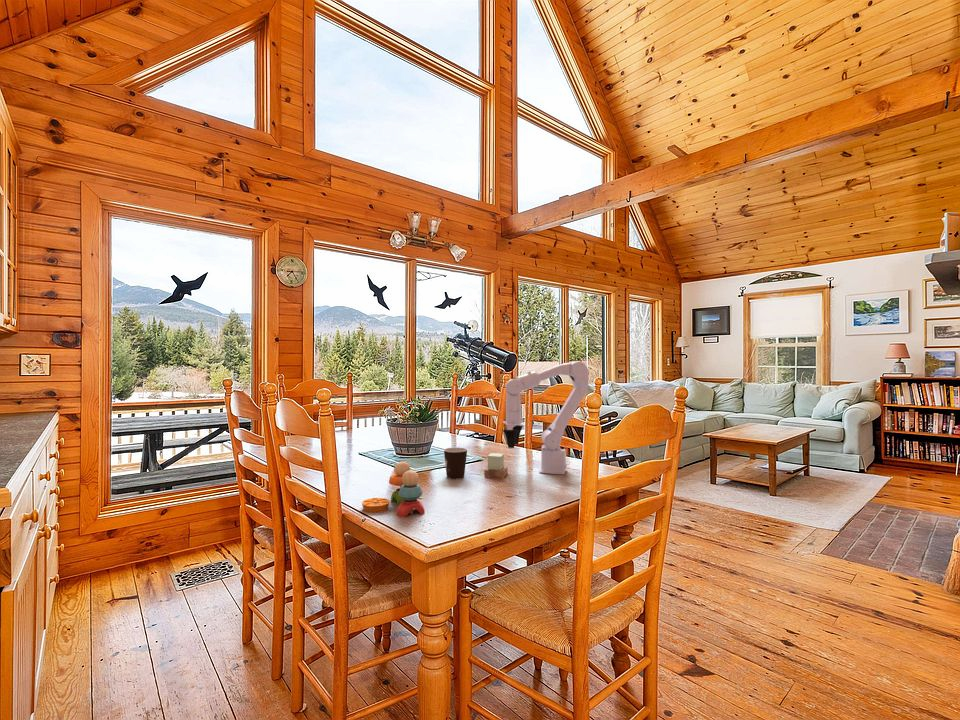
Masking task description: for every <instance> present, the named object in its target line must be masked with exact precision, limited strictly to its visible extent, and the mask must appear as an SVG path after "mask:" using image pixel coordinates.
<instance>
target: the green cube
mask: <svg viewBox="0 0 960 720" xmlns="http://www.w3.org/2000/svg"><path fill="white" fill-rule="evenodd" d="M487 467H488V469H491V470H502V469H503V467H505V453H497V452H496V453H495V452H491V453H489V454H488V455H487Z"/></svg>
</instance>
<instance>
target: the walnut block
mask: <svg viewBox="0 0 960 720" xmlns="http://www.w3.org/2000/svg"><path fill="white" fill-rule="evenodd" d="M483 471H484V478H494V479H504V478H505V477H506V476H507V475H508V471H509V468H508V466H504V467H503V469H502V470H491V469H488V466H487V467H485V469H484V470H483Z"/></svg>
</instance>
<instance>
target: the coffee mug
mask: <svg viewBox="0 0 960 720" xmlns="http://www.w3.org/2000/svg"><path fill="white" fill-rule="evenodd" d="M443 455H444V464H445V472H446V478H447V479H451V480H462V479H464V478H465V471H466V464H467V456H468V449H467V448H465V447H455V446H454V447H447V448H444V449H443Z"/></svg>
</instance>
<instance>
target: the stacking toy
mask: <svg viewBox="0 0 960 720" xmlns="http://www.w3.org/2000/svg"><path fill="white" fill-rule="evenodd" d="M419 480H420V479H419V474H418V473H417V472H416V471H415V470H412V469H411V466H410V464H409V463H408V462H406V461H399V462H398V463H396V465H395V466H394V473H393V474H391V475H390V476H389V480H388V483H389V484H390V485H392V486H397V487H398V486H399V488H396V489H395V490H394V491H393V492H392V493H391V496H390V500H389V499H388V498H385V497H371V498H368V499H364V500H363V501H362V502H361V505H362V508H363V510H364V511H363V512H366V513H370V514H371V513H373V514H374V513H377V514H378V513H381V512H386V511H387V510H388V509H389V506H390V502H396V505H397V509H396V513H395V514H396V516H397V517H399V518H404V519H405V518H406V517H407V516H408V515H412V514H414V510H415V511H417V512H418V513H419V514H421V515H424V514H425V508H424V505H423V504H422V503H421V502H420V500H418V499H419V498H420V497H421V496H422V495H423V490H422V487H421V485H420V484H419V483H418V482H419Z"/></svg>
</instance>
